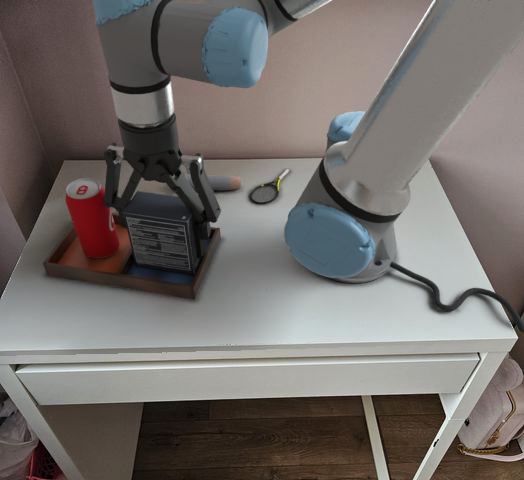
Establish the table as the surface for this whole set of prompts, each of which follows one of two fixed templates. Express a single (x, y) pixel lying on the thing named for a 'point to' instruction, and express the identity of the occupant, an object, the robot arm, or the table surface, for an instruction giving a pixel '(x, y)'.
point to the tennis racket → (270, 190)
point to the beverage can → (92, 218)
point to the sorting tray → (125, 266)
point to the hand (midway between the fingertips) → (169, 247)
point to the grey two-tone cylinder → (220, 182)
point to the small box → (161, 233)
